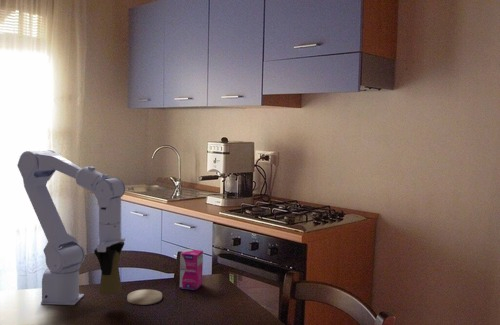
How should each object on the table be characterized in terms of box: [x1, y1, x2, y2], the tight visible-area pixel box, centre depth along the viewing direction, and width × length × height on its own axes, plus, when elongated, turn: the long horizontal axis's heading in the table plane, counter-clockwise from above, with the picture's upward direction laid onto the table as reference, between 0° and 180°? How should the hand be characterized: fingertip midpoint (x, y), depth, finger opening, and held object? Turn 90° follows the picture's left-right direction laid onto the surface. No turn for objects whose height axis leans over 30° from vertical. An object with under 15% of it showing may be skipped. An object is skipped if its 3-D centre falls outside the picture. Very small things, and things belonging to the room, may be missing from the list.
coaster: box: [126, 288, 163, 306], centre depth 138 cm, size 10×10×1 cm
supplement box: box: [179, 248, 204, 291], centre depth 149 cm, size 6×6×12 cm
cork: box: [98, 251, 123, 296], centre depth 128 cm, size 6×6×11 cm
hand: (109, 271), depth 129 cm, fingers closed on cork, 5 cm apart
